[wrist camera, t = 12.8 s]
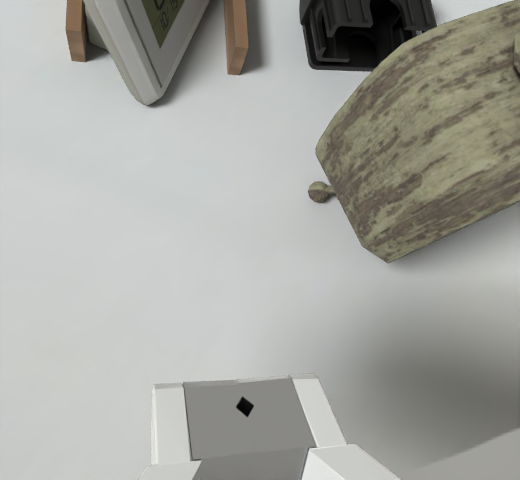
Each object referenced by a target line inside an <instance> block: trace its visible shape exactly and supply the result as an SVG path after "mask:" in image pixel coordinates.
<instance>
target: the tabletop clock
mask: <svg viewBox="0 0 520 480" xmlns="http://www.w3.org/2000/svg"><path fill="white" fill-rule="evenodd" d="M315 150H316V156H317V158H318V160H319V162H320V164H321V166H322V168H323V170H324V172H325V174H326V176H327V178H328V180H329V182H330V184H331V186H329V187H328V186H327V185H326V184H325V183H323V182H314V183H313V184H311V185H310V187H309V190H308V193H309V197H310V198H311V199H312V200H313V201H315V202H322V201H324V200H325V199H326V198H327V197H328V194H336V196H337V198H338V200H339V202H340V204H341V206H342V208H343V209H344V211H345V213H346V215H347V217H348V219H349V221H350V223H351V225H352V227H353V229H354V231H355V233H356V235H357V237H358V239H359V241H360V243H361V245H362V246H363V247H364V248H366V249H367V250H369V251H370V252H372V253H373V254H375V255H376V256H378V257H379V258H381V259H382V260H384V261H385V262H387V263H390V262H392V261H394V260H396V259H398V258H401V257H403V256H405V255H407V254H409V253H411V252H413V251H415V250H418V249H420V248H422V247H424V246H426V245H428V244H430V243H433V242H435V241H437V240H439V239H441V238H443V237H445V236H448V235H450V234H452V233H454V232H456V231H458V230H460V229H462V228H465V227H467V226H469V225H471V224H473V223H475V222H477V221H479V220H482V219H484V218H486V217H488V216H490V215H492V214H494V213H496V212H499V211H501V210H503V209H505V208H507V207H509V206H511V205H513V204H515V203H518V202H520V0H514V1H510V2H507V3H504V4H501V5H498V6H495V7H492V8H489V9H486V10H483V11H479V12H476V13H473V14H470V15H467V16H464V17H461V18H458V19H456V20H453V21H450V22H447V23H444V24H442V25H440V26H437V27H435V28H433V29H430V30H428V31H426V32H424V33H422V34H420V35H418V36H416V37H414V38H412V39H410V40H408V41H406V42H404V43H403V44H401V45H400V46H399V47H398V48H397V49H396V50H395V51H394V52H392V53H391V54H390V55H389V56H388V57H387V58H386V59H384V60H383V61H382V62H381V63H380V64H379V65H378V66H377V67H376V68H375V69H374V70H373V71H372V72H371V73H370V74H369V76H368V77H367V78H366V79H365V80H364V81H363V82H362V83H361V84H360V85H359V87H358V88H357V89H356V90H355V91H354V93H353V94H352V95H351V96H350V98H349V99H348V100H347V101H346V102H345V104H344V105H343V106H342V107H341V108H340V110H339V111H338V112H337V113H336V114H335V116H334V117H333V119H332V121H331V122H330V124H329V125H328V127H327V128H326V130H325V131H324V133H323V135H322V136H321V138H320V140H319V142H318V144H317V146H316V149H315Z"/></svg>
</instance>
